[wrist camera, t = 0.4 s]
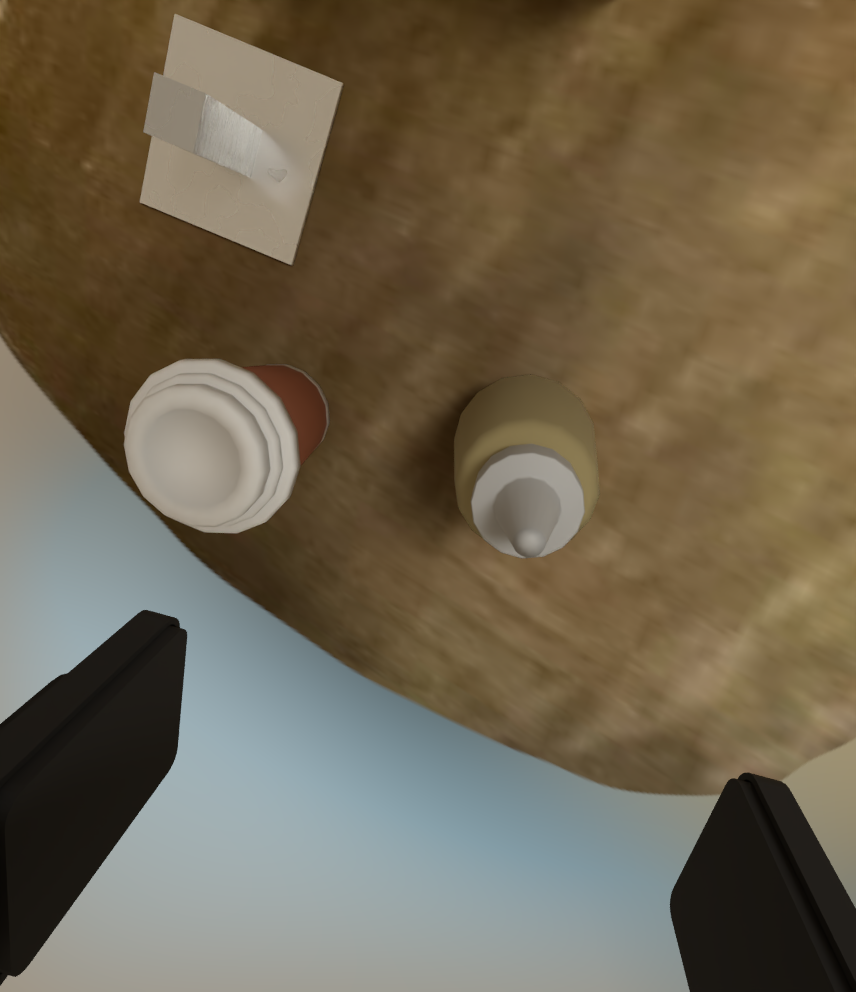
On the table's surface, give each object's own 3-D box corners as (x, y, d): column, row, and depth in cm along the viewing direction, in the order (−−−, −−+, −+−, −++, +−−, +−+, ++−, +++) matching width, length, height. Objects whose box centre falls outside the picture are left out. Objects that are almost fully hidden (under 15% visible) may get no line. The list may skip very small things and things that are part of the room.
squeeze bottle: (548, 512, 39) (573, 676, 23) (438, 458, 39) (380, 582, 22) (613, 402, 37) (697, 496, 20) (495, 343, 36) (478, 387, 20)
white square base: (177, 15, 33) (94, -53, 27) (344, 84, 33) (301, 33, 27) (142, 202, 37) (61, 183, 30) (293, 265, 37) (244, 259, 30)
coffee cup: (292, 312, 38) (196, 321, 26) (377, 431, 39) (321, 488, 28) (190, 393, 40) (64, 432, 29) (274, 502, 42) (186, 579, 31)
